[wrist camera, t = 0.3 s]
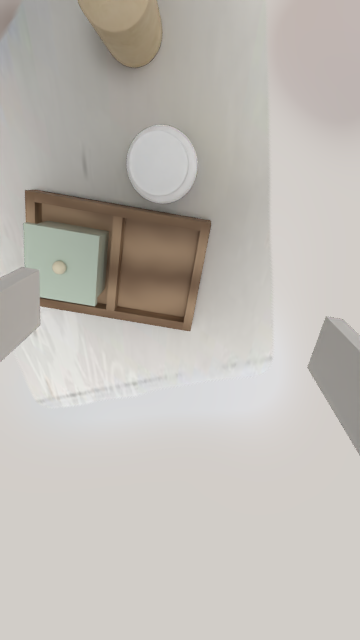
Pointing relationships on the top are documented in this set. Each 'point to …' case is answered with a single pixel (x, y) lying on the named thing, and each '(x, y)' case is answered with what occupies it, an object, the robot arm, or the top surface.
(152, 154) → the pill bottle
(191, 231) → the organizer tray
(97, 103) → the top surface
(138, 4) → the candle
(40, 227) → the trinket box
